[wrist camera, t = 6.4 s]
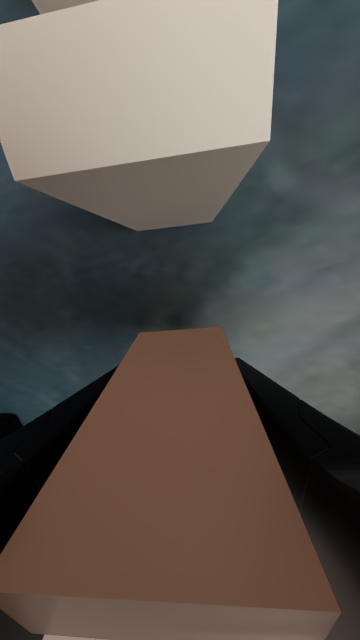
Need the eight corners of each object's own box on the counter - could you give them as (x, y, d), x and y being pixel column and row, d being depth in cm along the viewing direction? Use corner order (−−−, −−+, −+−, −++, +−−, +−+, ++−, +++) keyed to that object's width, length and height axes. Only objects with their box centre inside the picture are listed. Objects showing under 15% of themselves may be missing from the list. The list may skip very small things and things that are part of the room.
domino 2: (145, 360, 12) (31, 632, 3) (139, 332, 11) (-23, 590, 3) (221, 355, 11) (315, 655, 3) (221, 326, 11) (341, 612, 2)
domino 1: (137, 231, 12) (14, 181, 4) (131, 196, 11) (-38, 33, 3) (212, 222, 12) (270, 140, 3) (210, 185, 11) (280, -45, 2)
